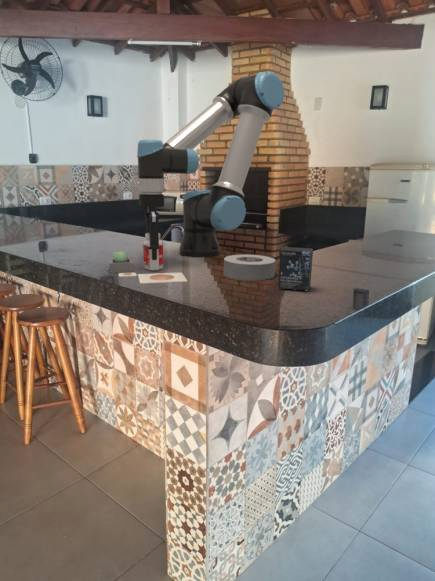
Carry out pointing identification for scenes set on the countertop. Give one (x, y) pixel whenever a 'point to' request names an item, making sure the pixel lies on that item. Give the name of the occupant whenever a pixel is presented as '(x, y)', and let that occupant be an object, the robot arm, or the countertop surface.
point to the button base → (121, 266)
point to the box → (295, 268)
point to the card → (127, 274)
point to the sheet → (161, 278)
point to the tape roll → (249, 267)
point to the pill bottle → (146, 252)
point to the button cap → (120, 256)
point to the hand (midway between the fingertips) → (153, 267)
